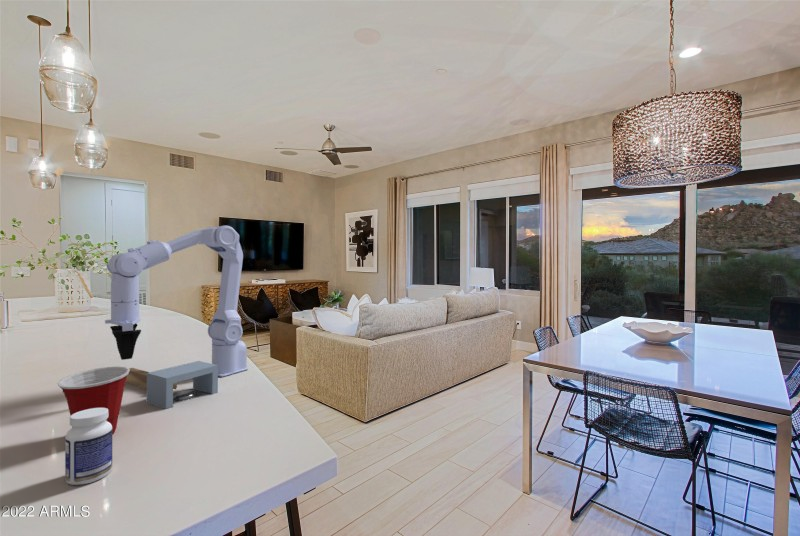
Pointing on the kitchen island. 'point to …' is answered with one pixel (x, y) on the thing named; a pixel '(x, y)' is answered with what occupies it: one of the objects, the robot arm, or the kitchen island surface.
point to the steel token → (183, 395)
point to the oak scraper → (140, 378)
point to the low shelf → (164, 379)
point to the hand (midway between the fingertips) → (125, 355)
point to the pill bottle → (88, 447)
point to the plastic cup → (96, 391)
